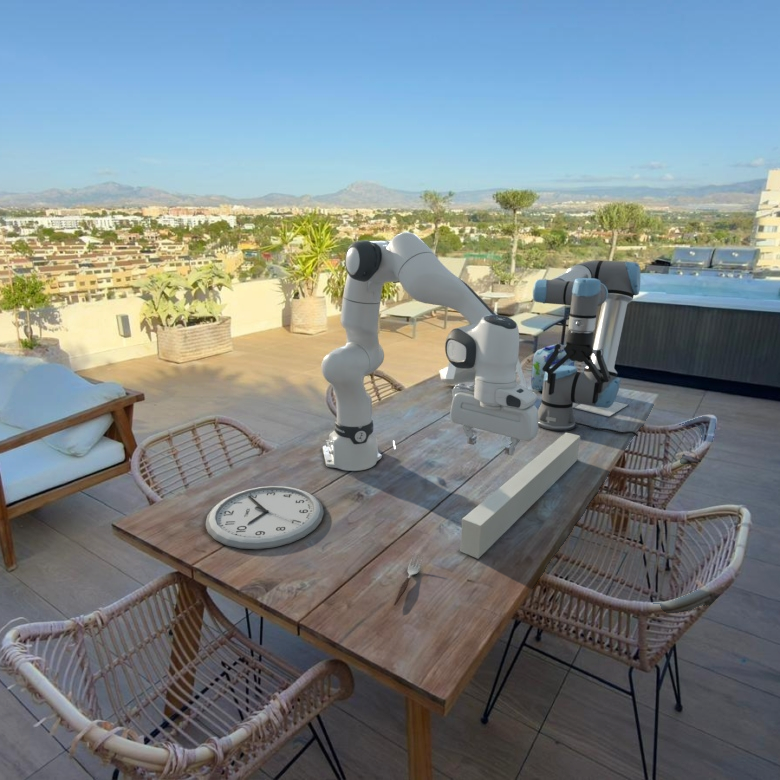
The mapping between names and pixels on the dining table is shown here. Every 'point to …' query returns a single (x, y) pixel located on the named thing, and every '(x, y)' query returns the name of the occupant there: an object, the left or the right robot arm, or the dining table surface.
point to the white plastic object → (470, 374)
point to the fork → (412, 571)
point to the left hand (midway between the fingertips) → (490, 448)
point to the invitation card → (600, 410)
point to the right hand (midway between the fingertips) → (572, 398)
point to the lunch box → (540, 361)
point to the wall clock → (264, 517)
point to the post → (516, 496)
